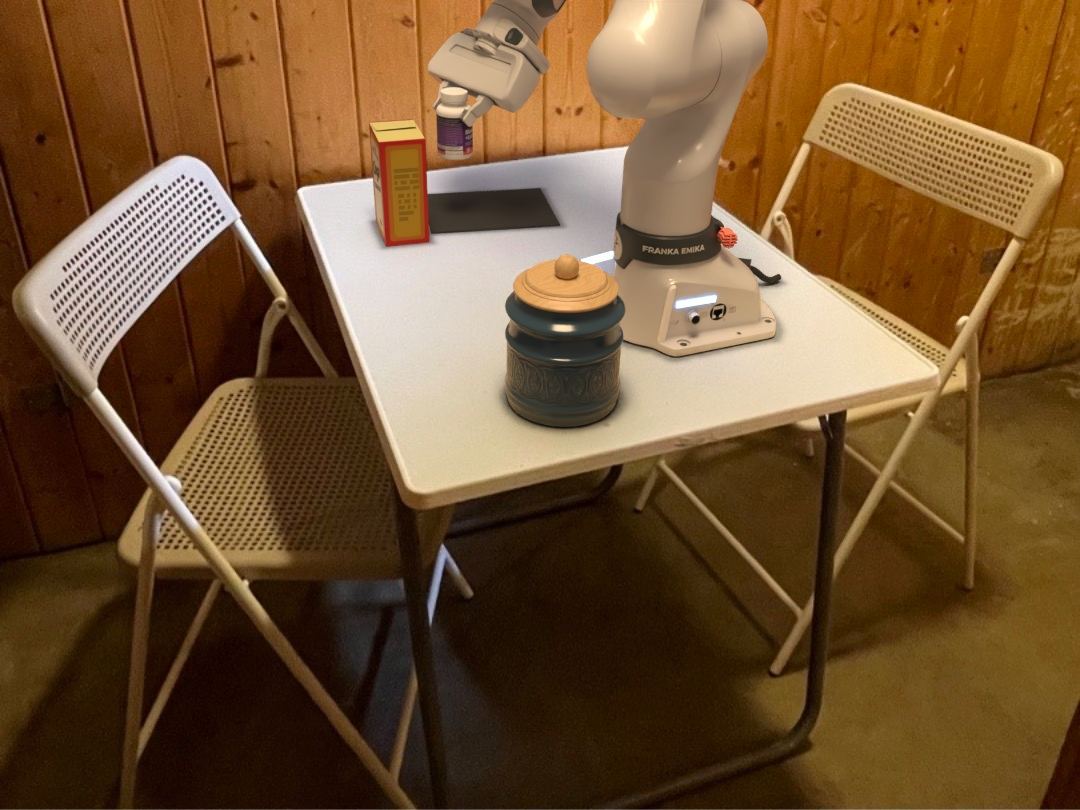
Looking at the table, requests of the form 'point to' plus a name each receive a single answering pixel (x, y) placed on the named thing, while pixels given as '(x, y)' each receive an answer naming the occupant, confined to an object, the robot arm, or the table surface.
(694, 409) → the table surface
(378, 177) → the baking soda box
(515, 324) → the canister
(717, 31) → the robot arm
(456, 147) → the pill bottle
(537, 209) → the rubber mat
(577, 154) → the table surface
